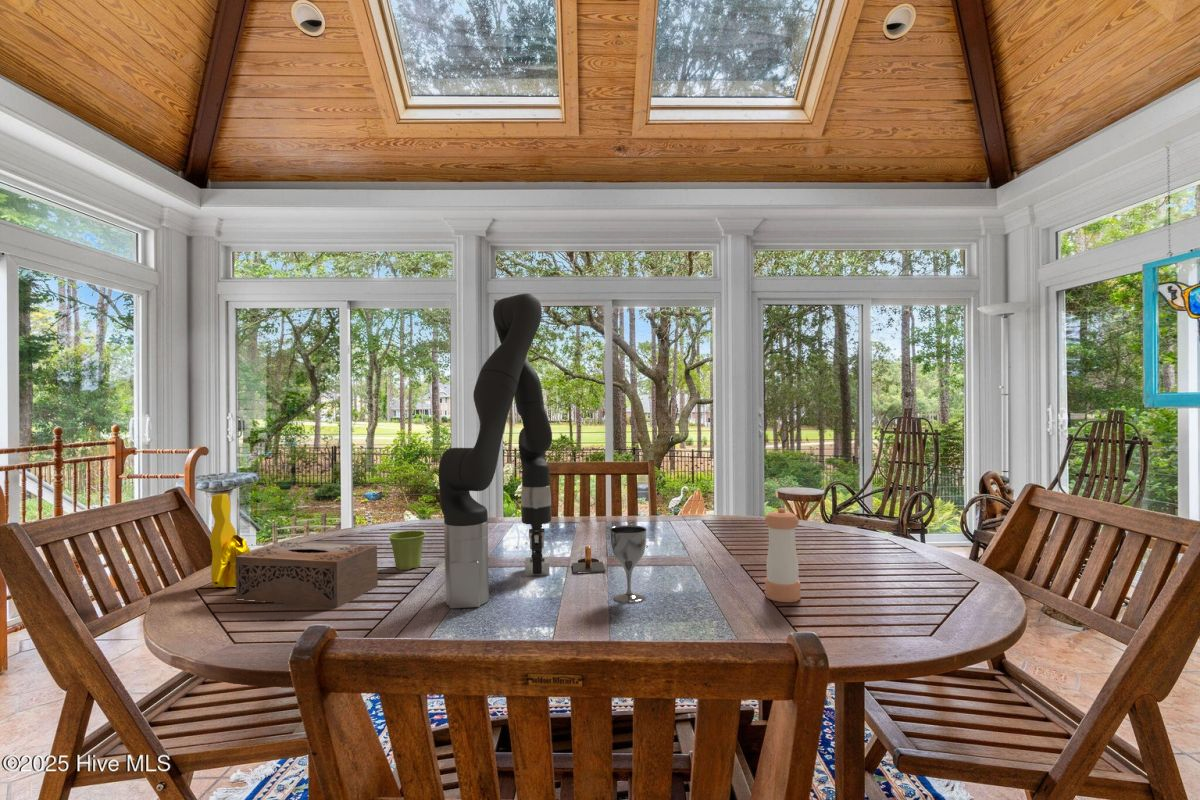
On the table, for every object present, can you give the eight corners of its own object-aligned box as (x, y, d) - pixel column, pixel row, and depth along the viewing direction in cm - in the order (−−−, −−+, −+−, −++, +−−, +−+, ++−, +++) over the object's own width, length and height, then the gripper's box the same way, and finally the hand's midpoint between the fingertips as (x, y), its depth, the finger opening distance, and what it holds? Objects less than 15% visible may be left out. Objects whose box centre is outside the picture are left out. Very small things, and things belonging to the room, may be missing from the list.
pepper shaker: (758, 593, 132) (757, 506, 132) (785, 589, 135) (784, 504, 135) (779, 604, 125) (778, 512, 125) (807, 599, 128) (806, 509, 128)
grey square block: (549, 575, 149) (549, 563, 149) (525, 576, 148) (524, 564, 148) (549, 568, 155) (549, 556, 155) (525, 569, 154) (525, 557, 154)
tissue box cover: (377, 588, 142) (376, 545, 142) (337, 608, 128) (336, 561, 128) (284, 582, 148) (283, 541, 148) (236, 601, 133) (235, 556, 134)
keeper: (605, 572, 150) (605, 550, 150) (573, 573, 149) (573, 551, 149) (602, 563, 158) (602, 542, 158) (572, 565, 157) (571, 543, 157)
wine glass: (617, 605, 126) (615, 534, 126) (606, 594, 133) (605, 526, 133) (652, 601, 128) (651, 531, 128) (640, 590, 136) (639, 524, 136)
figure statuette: (225, 597, 136) (223, 499, 136) (189, 597, 136) (188, 500, 136) (266, 574, 154) (265, 488, 154) (235, 575, 154) (234, 489, 154)
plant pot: (420, 572, 153) (419, 538, 153) (383, 572, 154) (382, 538, 154) (431, 562, 163) (430, 530, 163) (396, 562, 163) (396, 530, 163)
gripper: (522, 499, 158) (523, 563, 158) (520, 509, 144) (521, 579, 144) (550, 498, 159) (551, 561, 159) (551, 508, 145) (552, 577, 145)
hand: (537, 569), depth 152 cm, fingers closed on grey square block, 6 cm apart
